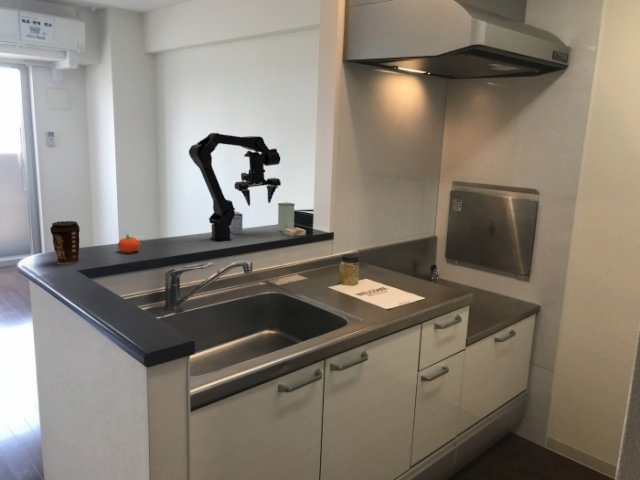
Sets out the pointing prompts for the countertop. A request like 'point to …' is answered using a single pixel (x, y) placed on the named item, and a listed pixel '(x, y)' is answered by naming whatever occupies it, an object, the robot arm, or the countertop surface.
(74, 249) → the coffee cup
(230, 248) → the countertop surface
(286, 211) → the tea tin
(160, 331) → the countertop surface
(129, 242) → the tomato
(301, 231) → the oak block
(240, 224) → the medicine box
